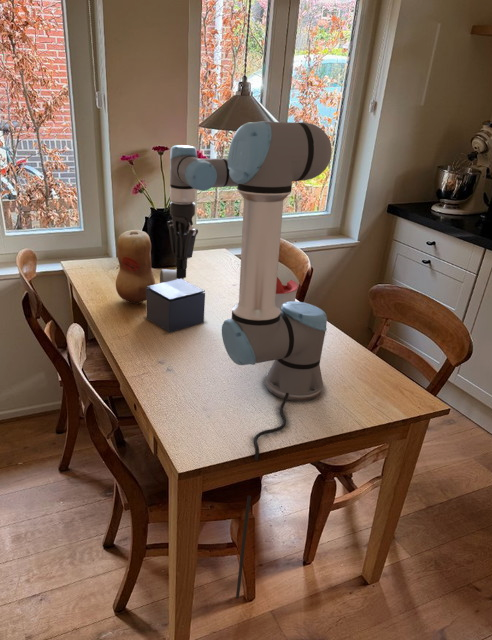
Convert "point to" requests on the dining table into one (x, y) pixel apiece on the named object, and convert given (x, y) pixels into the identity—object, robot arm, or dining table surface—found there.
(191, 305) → the carton
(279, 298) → the citrus juicer
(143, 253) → the butternut squash
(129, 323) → the dining table surface
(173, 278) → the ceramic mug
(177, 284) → the flap
